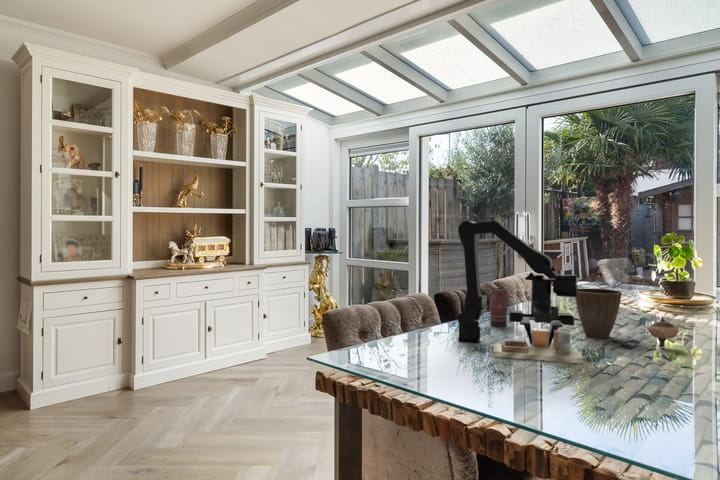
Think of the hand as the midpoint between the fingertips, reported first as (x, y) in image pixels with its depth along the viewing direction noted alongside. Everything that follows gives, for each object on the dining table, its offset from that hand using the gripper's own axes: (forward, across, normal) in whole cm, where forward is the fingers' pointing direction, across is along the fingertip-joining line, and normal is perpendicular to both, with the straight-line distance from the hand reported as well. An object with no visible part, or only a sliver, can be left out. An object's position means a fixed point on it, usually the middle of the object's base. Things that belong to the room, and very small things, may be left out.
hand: (540, 345), depth 152 cm
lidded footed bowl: (+1, +38, +14) cm, 41 cm away
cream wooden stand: (+1, -2, -9) cm, 9 cm away
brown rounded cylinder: (+1, -12, +35) cm, 37 cm away
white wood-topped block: (+1, 0, 0) cm, 1 cm away
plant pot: (+1, +21, +26) cm, 33 cm away
